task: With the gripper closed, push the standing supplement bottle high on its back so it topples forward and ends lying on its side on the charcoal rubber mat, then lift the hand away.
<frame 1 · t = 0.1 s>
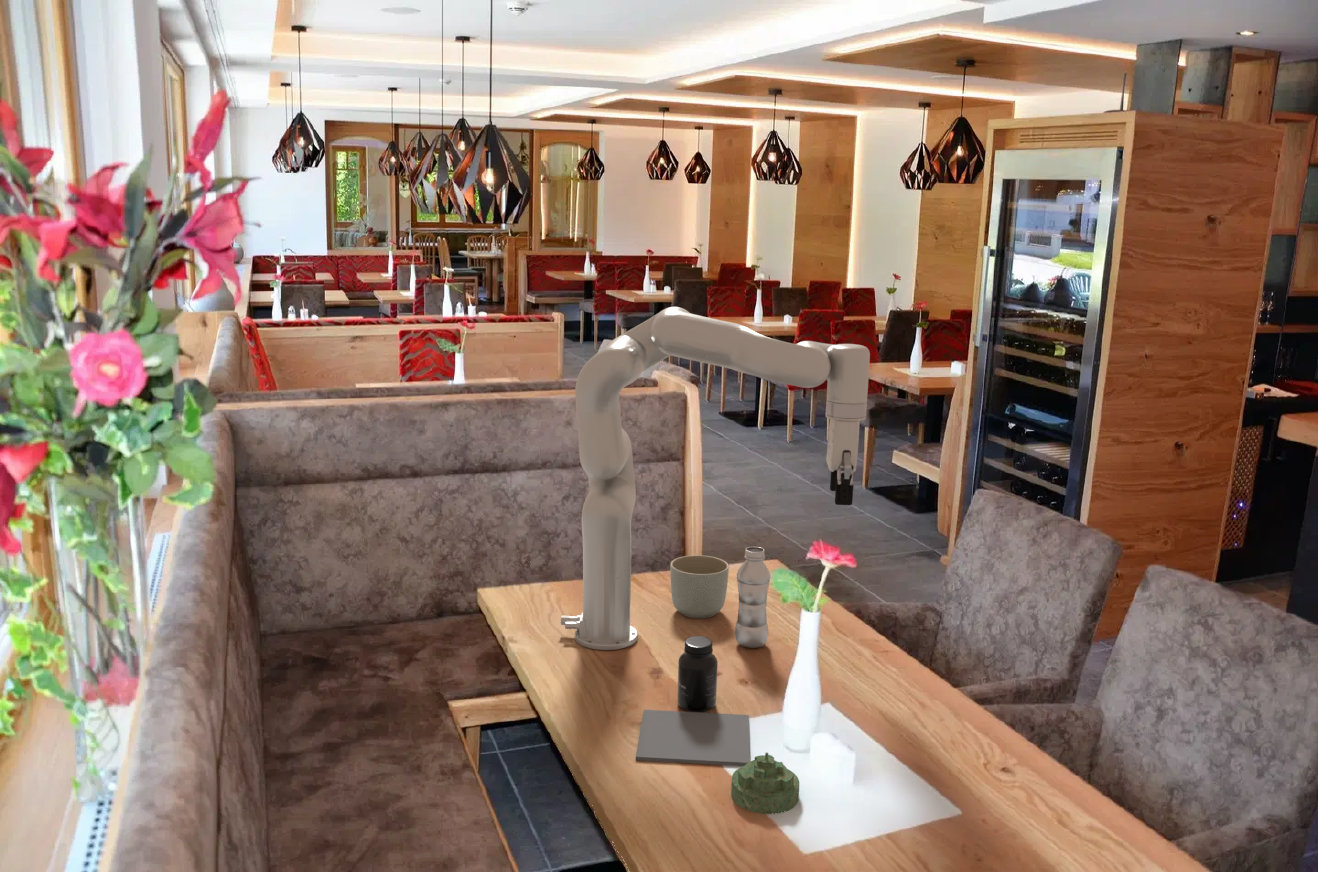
hand: (840, 497, 205), 31 cm above the table, tool pointing down, fingers open, 9 cm apart
decorative artifact: (764, 797, 159), on the table
supplement bottle: (696, 705, 187), on the table
mat: (694, 738, 175), on the table
plastic bottle: (750, 646, 213), on the table
planter: (698, 613, 229), on the table
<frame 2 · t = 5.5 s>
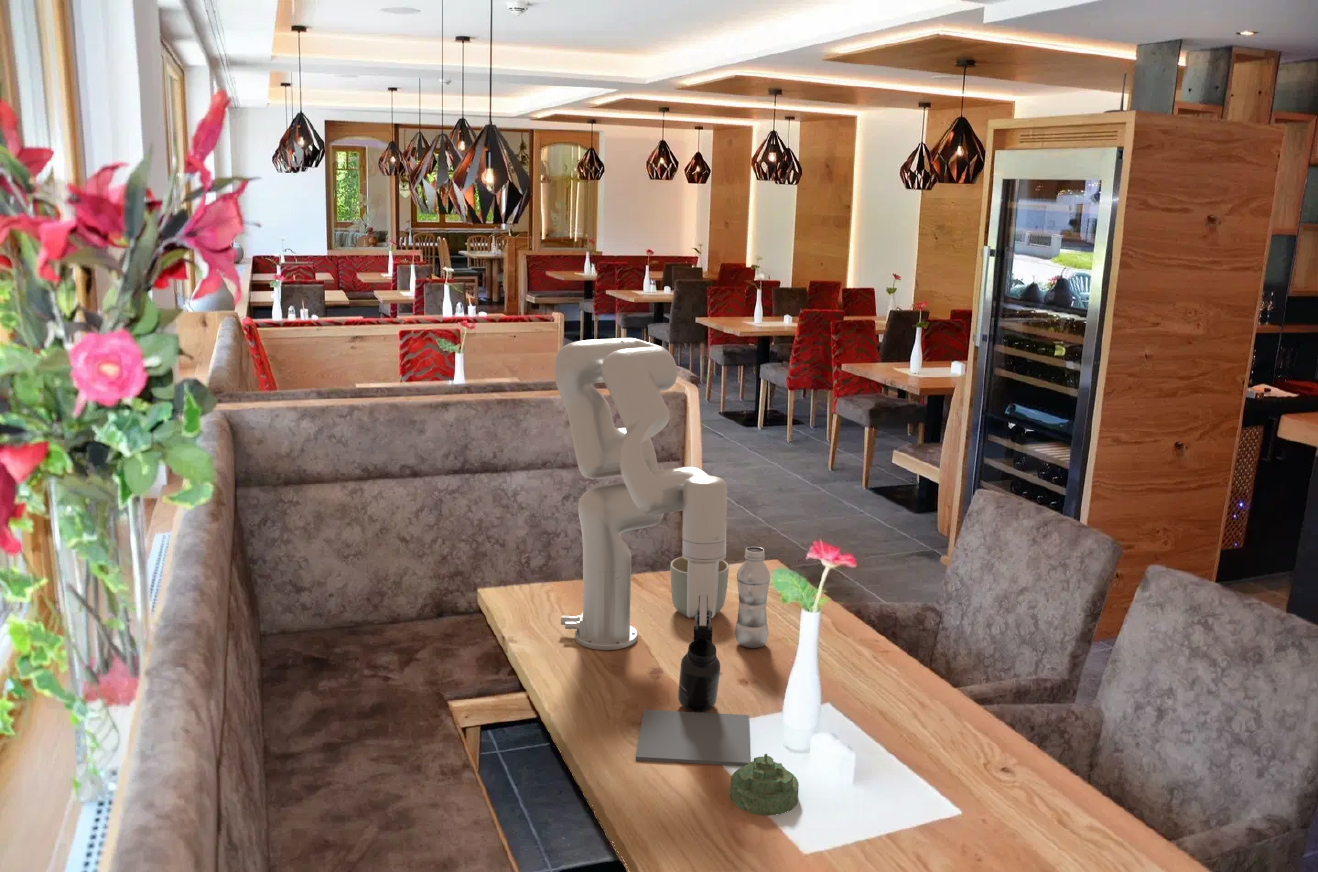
hand: (702, 649, 186), 10 cm above the table, tool pointing down, fingers closed
supplement bottle: (697, 700, 187), point 1 cm above the table, touching gripper
everything else where it was.
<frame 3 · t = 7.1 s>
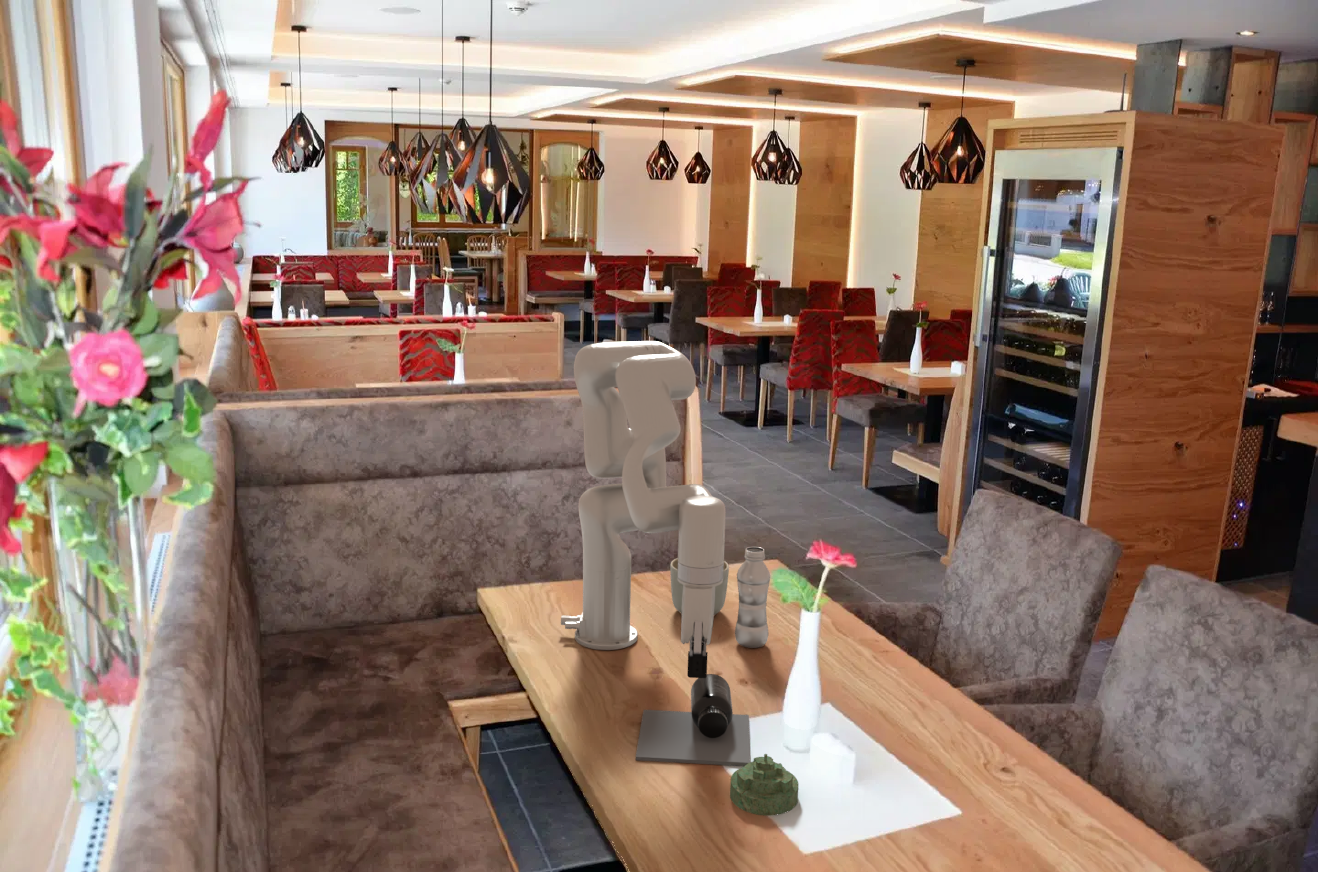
hand: (697, 675, 178), 9 cm above the table, tool pointing down, fingers closed
supplement bottle: (710, 690, 183), point 4 cm above the table, touching mat
everything else where it was.
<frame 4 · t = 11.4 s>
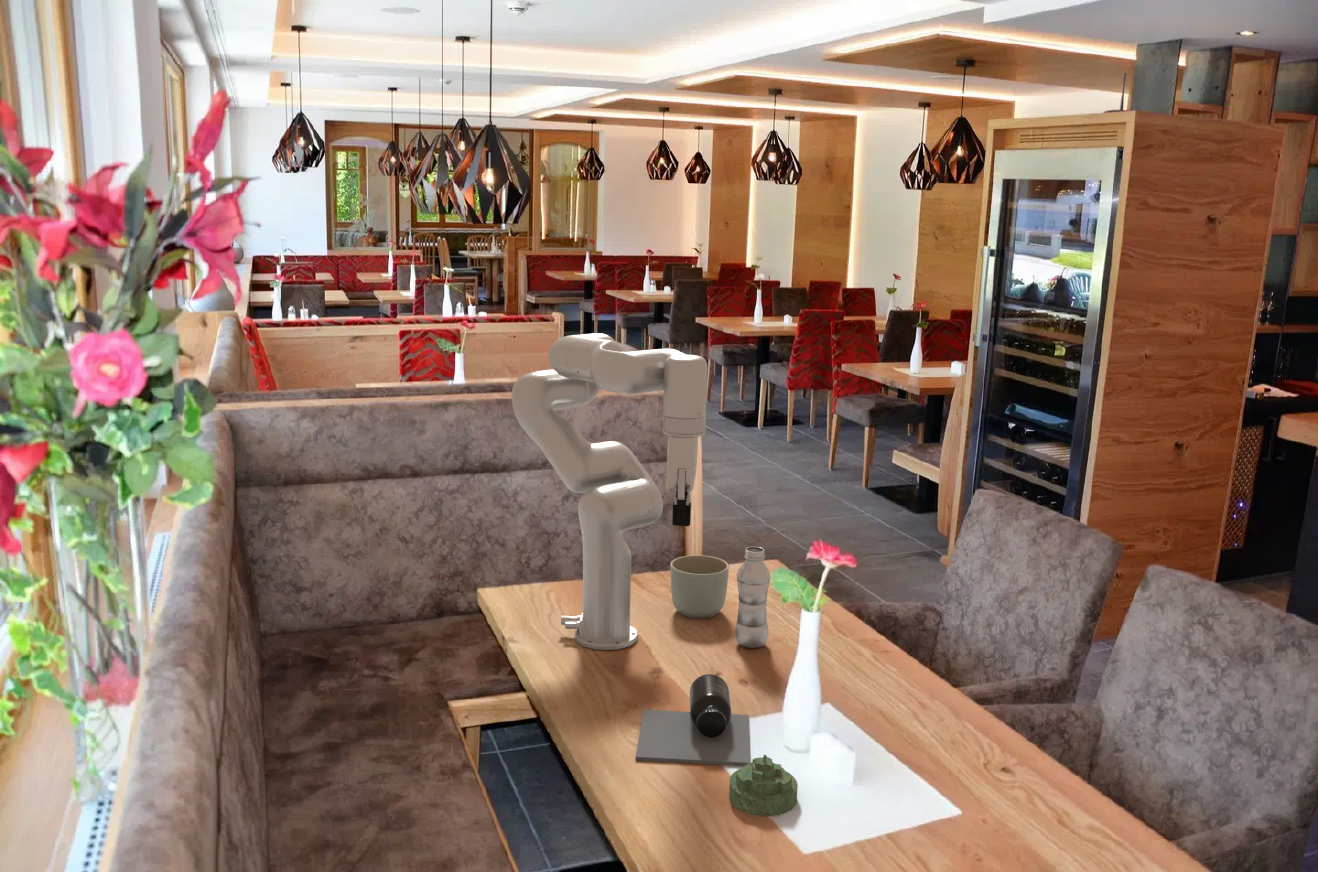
hand: (681, 524, 192), 29 cm above the table, tool pointing down, fingers closed
nothing on the table moved.
at the end: supplement bottle tilted 89°; supplement bottle touching mat; supplement bottle inside the target area (6.0 cm from its centre), point 3.9 cm above the table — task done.
